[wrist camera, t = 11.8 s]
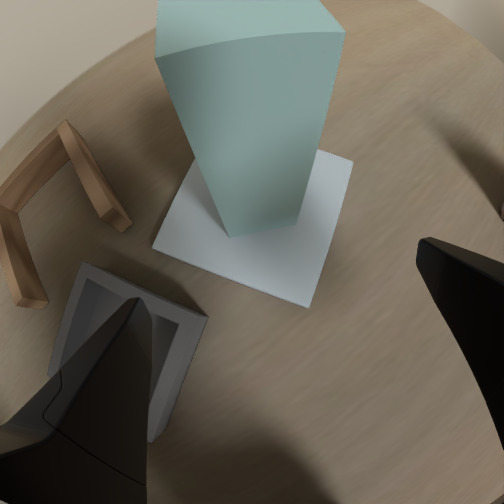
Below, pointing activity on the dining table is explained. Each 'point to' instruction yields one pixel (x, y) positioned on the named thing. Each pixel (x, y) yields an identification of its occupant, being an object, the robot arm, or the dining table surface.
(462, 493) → the dining table surface
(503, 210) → the flask
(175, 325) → the box
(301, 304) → the pad
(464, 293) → the robot arm
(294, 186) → the block
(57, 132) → the walled lane
